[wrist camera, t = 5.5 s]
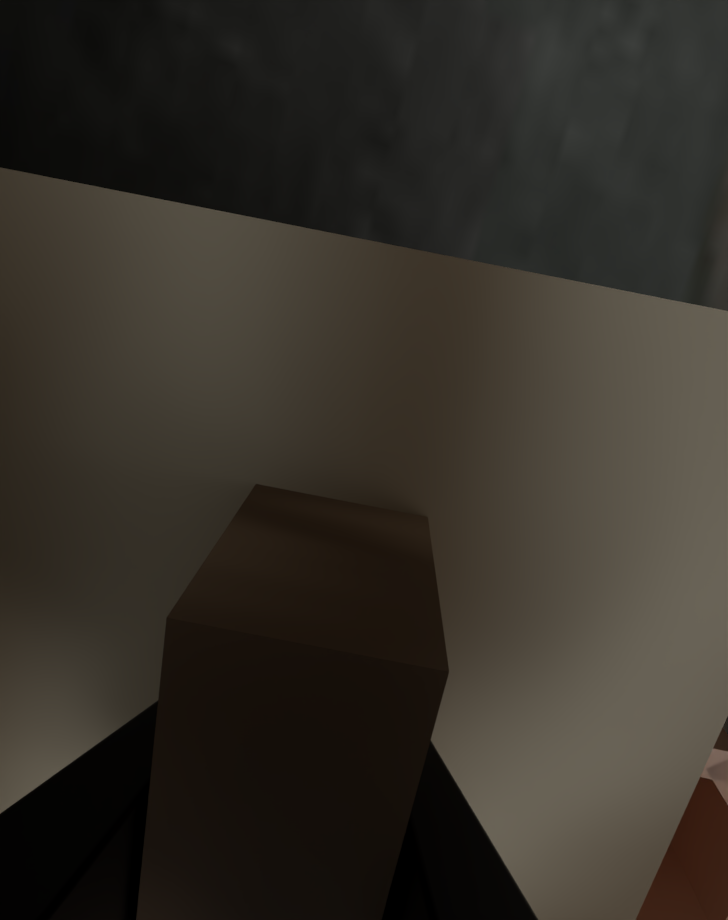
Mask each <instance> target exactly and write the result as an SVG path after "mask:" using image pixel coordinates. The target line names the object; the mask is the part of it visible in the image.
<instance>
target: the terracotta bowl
mask: <svg viewBox="0 0 728 920" xmlns="http://www.w3.org/2000/svg"><path fill="white" fill-rule="evenodd" d="M636 920H728V734H727V733H726V732H725V730H724V729H723V727H722V730H721V732H720V734H719V736H718V738H717V741H716V743H715V745H714V747H713V750H712V752H711V754H710V756H709V758H708V761H707V763H706V765H705V767H704V769H703V772H702V774H701V776H700V778H699V781H698V783H697V785H696V787H695V789H694V792H693V794H692V796H691V798H690V800H689V803H688V805H687V807H686V809H685V812H684V814H683V816H682V818H681V820H680V823H679V825H678V827H677V829H676V831H675V834H674V836H673V838H672V840H671V843H670V845H669V847H668V849H667V851H666V854H665V856H664V858H663V860H662V862H661V865H660V867H659V869H658V871H657V874H656V876H655V878H654V880H653V882H652V885H651V887H650V889H649V891H648V893H647V896H646V898H645V900H644V902H643V905H642V907H641V909H640V911H639V913H638V916H637V918H636Z"/></svg>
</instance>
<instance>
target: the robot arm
mask: <svg viewBox="0 0 728 920" xmlns="http://www.w3.org/2000/svg"><path fill="white" fill-rule="evenodd" d="M157 707H158V701H156V702H155V703H153V704H152V705H151V706H149V707H148V708H146V709H145V710H144V711H142V712H141V713H139V714H138V715H137V716H135V717H134V718H132V719H131V720H130V721H128V722H127V723H126V724H124V725H123V726H121V727H120V728H119V729H117V730H116V731H114V732H113V733H112V734H110V735H109V736H107V737H106V738H105V739H103V740H102V741H100V742H99V743H98V744H96V745H95V746H93V747H92V748H91V749H89V750H88V751H87V752H85V753H84V754H82V755H81V756H80V757H78V758H77V759H75V760H74V761H73V762H71V763H70V764H68V765H67V766H66V767H64V768H63V769H61V770H60V771H59V772H57V773H56V774H55V775H53V776H52V777H50V778H49V779H48V780H46V781H45V782H43V783H42V784H41V785H39V786H38V787H36V788H35V789H34V790H32V791H31V792H29V793H28V794H27V795H25V796H24V797H22V798H21V799H20V800H18V801H17V802H16V803H14V804H13V805H11V806H10V807H9V808H7V809H6V810H4V811H3V812H2V813H0V920H136V916H137V906H138V896H139V886H140V876H141V866H142V856H143V846H144V836H145V827H146V817H147V807H148V797H149V787H150V777H151V767H152V757H153V747H154V737H155V727H156V717H157ZM382 920H538V918H537V916H536V915H535V913H534V911H533V910H532V908H531V906H530V905H529V903H528V901H527V900H526V898H525V896H524V895H523V893H522V891H521V890H520V888H519V886H518V885H517V883H516V881H515V880H514V878H513V876H512V875H511V873H510V871H509V870H508V868H507V866H506V865H505V863H504V861H503V860H502V858H501V856H500V855H499V853H498V851H497V850H496V848H495V846H494V845H493V843H492V841H491V840H490V838H489V836H488V835H487V833H486V831H485V830H484V828H483V826H482V825H481V823H480V821H479V820H478V818H477V816H476V815H475V813H474V811H473V810H472V808H471V806H470V805H469V803H468V801H467V800H466V798H465V796H464V795H463V793H462V791H461V790H460V788H459V786H458V785H457V783H456V781H455V780H454V778H453V776H452V775H451V773H450V771H449V770H448V768H447V766H446V765H445V763H444V761H443V760H442V758H441V756H440V755H439V753H438V751H437V750H436V748H435V746H434V745H433V743H432V741H431V740H430V744H429V748H428V751H427V755H426V759H425V762H424V766H423V770H422V773H421V777H420V781H419V784H418V788H417V792H416V795H415V799H414V803H413V806H412V810H411V814H410V817H409V821H408V825H407V828H406V832H405V836H404V839H403V843H402V847H401V850H400V854H399V858H398V861H397V865H396V869H395V872H394V876H393V880H392V883H391V887H390V891H389V894H388V898H387V902H386V905H385V909H384V913H383V916H382Z"/></svg>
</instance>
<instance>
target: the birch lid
mask: <svg viewBox="0 0 728 920" xmlns="http://www.w3.org/2000/svg"><path fill="white" fill-rule="evenodd" d="M156 701H158V707H157V717H156V727H155V737H154V747H153V757H152V767H151V777H150V787H149V797H148V807H147V817H146V827H145V836H144V846H143V856H142V866H141V876H140V886H139V896H138V906H137V916H136V920H382V916H383V913H384V909H385V905H386V902H387V898H388V894H389V891H390V887H391V883H392V880H393V876H394V872H395V869H396V865H397V861H398V858H399V854H400V850H401V847H402V843H403V839H404V836H405V832H406V828H407V825H408V821H409V817H410V814H411V810H412V806H413V803H414V799H415V795H416V792H417V788H418V784H419V781H420V777H421V773H422V770H423V766H424V762H425V759H426V755H427V751H428V748H429V744H430V740H431V741H432V743H433V745H434V746H435V748H436V750H437V751H438V753H439V755H440V756H441V758H442V760H443V761H444V763H445V765H446V766H447V768H448V770H449V771H450V773H451V775H452V776H453V778H454V780H455V781H456V783H457V785H458V786H459V788H460V790H461V791H462V793H463V795H464V796H465V798H466V800H467V801H468V803H469V805H470V806H471V808H472V810H473V811H474V813H475V815H476V816H477V818H478V820H479V821H480V823H481V825H482V826H483V828H484V830H485V831H486V833H487V835H488V836H489V838H490V840H491V841H492V843H493V845H494V846H495V848H496V850H497V851H498V853H499V855H500V856H501V858H502V860H503V861H504V863H505V865H506V866H507V868H508V870H509V871H510V873H511V875H512V876H513V878H514V880H515V881H516V883H517V885H518V886H519V888H520V890H521V891H522V893H523V895H524V896H525V898H526V900H527V901H528V903H529V905H530V906H531V908H532V910H533V911H534V913H535V915H536V916H537V918H538V920H636V918H637V916H638V913H639V911H640V909H641V907H642V905H643V902H644V900H645V898H646V896H647V893H648V891H649V889H650V887H651V885H652V882H653V880H654V878H655V876H656V874H657V871H658V869H659V867H660V865H661V862H662V860H663V858H664V856H665V854H666V851H667V849H668V847H669V845H670V843H671V840H672V838H673V836H674V834H675V831H676V829H677V827H678V825H679V823H680V820H681V818H682V816H683V814H684V812H685V809H686V807H687V805H688V803H689V800H690V798H691V796H692V794H693V792H694V789H695V787H696V785H697V783H698V781H699V778H700V776H701V774H702V772H703V769H704V767H705V765H706V763H707V761H708V758H709V756H710V754H711V752H712V750H713V747H714V745H715V743H716V741H717V738H718V736H719V734H720V732H721V730H722V727H723V725H724V723H725V721H726V719H727V716H728V311H724V310H719V309H714V308H709V307H704V306H699V305H694V304H689V303H684V302H679V301H674V300H668V299H663V298H658V297H653V296H648V295H643V294H638V293H633V292H628V291H623V290H618V289H613V288H608V287H603V286H598V285H593V284H587V283H582V282H577V281H572V280H567V279H562V278H557V277H552V276H547V275H542V274H537V273H532V272H527V271H522V270H517V269H512V268H506V267H501V266H496V265H491V264H486V263H481V262H476V261H471V260H466V259H461V258H456V257H451V256H446V255H441V254H436V253H430V252H425V251H420V250H415V249H410V248H405V247H400V246H395V245H390V244H385V243H380V242H375V241H370V240H365V239H360V238H355V237H349V236H344V235H339V234H334V233H329V232H324V231H319V230H314V229H309V228H304V227H299V226H294V225H289V224H284V223H279V222H274V221H268V220H263V219H258V218H253V217H248V216H243V215H238V214H233V213H228V212H223V211H218V210H213V209H208V208H203V207H198V206H192V205H187V204H182V203H177V202H172V201H167V200H162V199H157V198H152V197H147V196H142V195H137V194H132V193H127V192H122V191H117V190H111V189H106V188H101V187H96V186H91V185H86V184H81V183H76V182H71V181H66V180H61V179H56V178H51V177H46V176H41V175H35V174H30V173H25V172H20V171H15V170H10V169H5V168H0V813H2V812H3V811H4V810H6V809H7V808H9V807H10V806H11V805H13V804H14V803H16V802H17V801H18V800H20V799H21V798H22V797H24V796H25V795H27V794H28V793H29V792H31V791H32V790H34V789H35V788H36V787H38V786H39V785H41V784H42V783H43V782H45V781H46V780H48V779H49V778H50V777H52V776H53V775H55V774H56V773H57V772H59V771H60V770H61V769H63V768H64V767H66V766H67V765H68V764H70V763H71V762H73V761H74V760H75V759H77V758H78V757H80V756H81V755H82V754H84V753H85V752H87V751H88V750H89V749H91V748H92V747H93V746H95V745H96V744H98V743H99V742H100V741H102V740H103V739H105V738H106V737H107V736H109V735H110V734H112V733H113V732H114V731H116V730H117V729H119V728H120V727H121V726H123V725H124V724H126V723H127V722H128V721H130V720H131V719H132V718H134V717H135V716H137V715H138V714H139V713H141V712H142V711H144V710H145V709H146V708H148V707H149V706H151V705H152V704H153V703H155V702H156Z"/></svg>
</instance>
